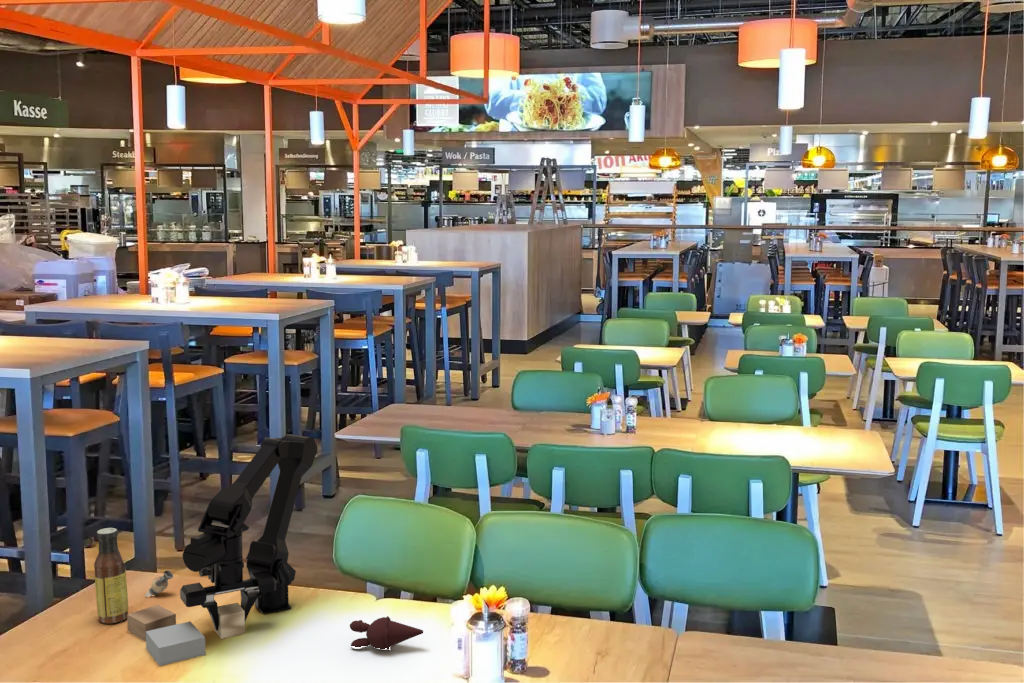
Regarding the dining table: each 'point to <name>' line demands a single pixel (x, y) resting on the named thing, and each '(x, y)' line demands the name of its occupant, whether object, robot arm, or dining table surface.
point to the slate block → (175, 643)
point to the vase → (159, 584)
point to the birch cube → (230, 620)
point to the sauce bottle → (110, 579)
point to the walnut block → (149, 620)
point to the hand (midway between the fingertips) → (229, 627)
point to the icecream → (383, 633)
